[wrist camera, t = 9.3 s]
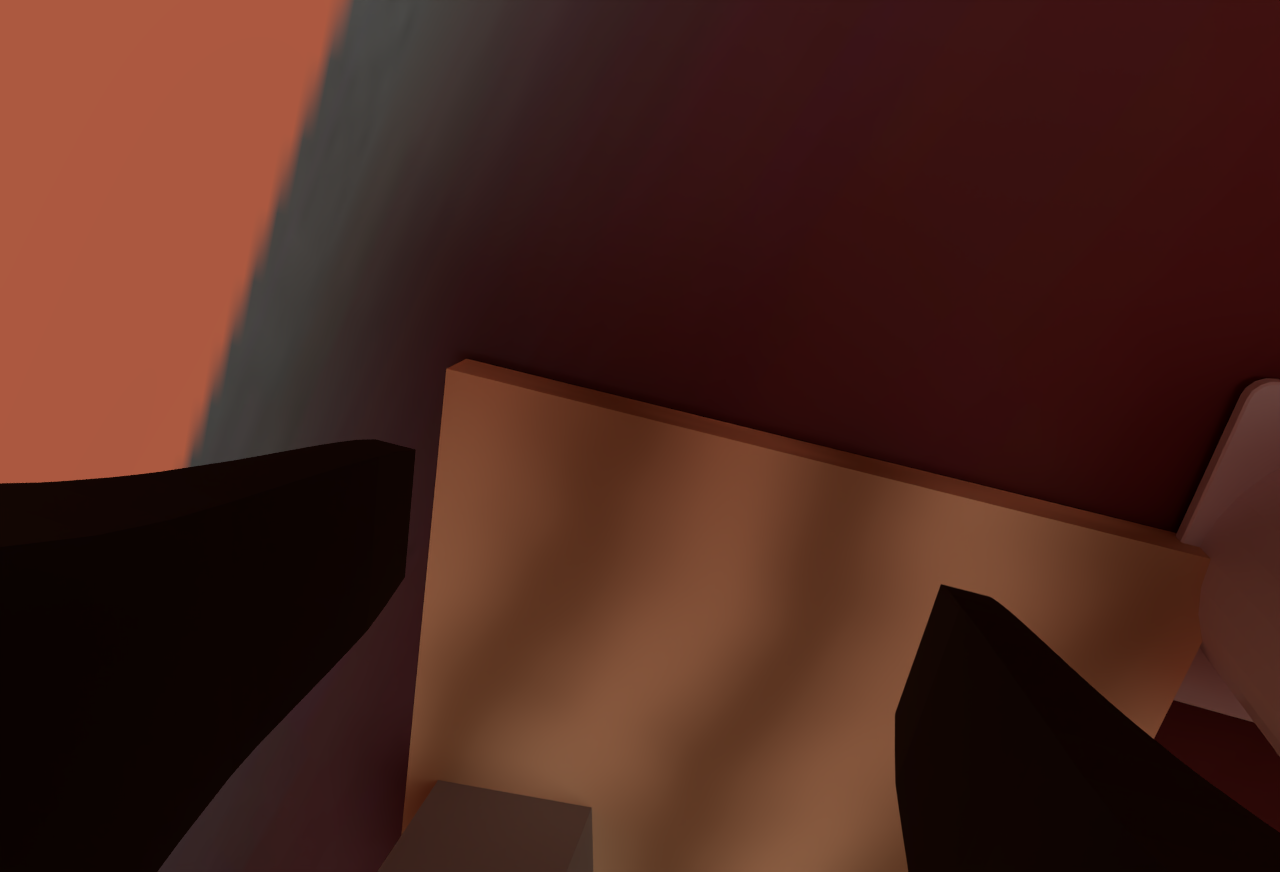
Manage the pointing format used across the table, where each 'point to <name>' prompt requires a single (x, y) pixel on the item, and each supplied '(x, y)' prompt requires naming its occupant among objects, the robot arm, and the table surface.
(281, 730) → the table surface
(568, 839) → the slate carton
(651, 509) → the shelf board
